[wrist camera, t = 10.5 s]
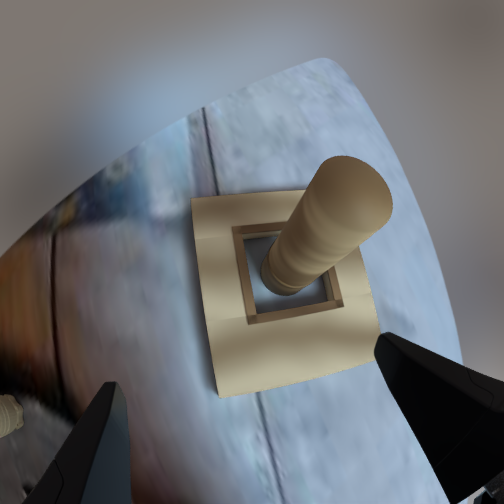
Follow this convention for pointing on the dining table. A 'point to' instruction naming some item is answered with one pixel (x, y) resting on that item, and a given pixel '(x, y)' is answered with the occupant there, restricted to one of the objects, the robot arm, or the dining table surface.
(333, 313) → the socket board
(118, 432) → the robot arm
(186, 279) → the dining table surface
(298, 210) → the peg
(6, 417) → the handle
